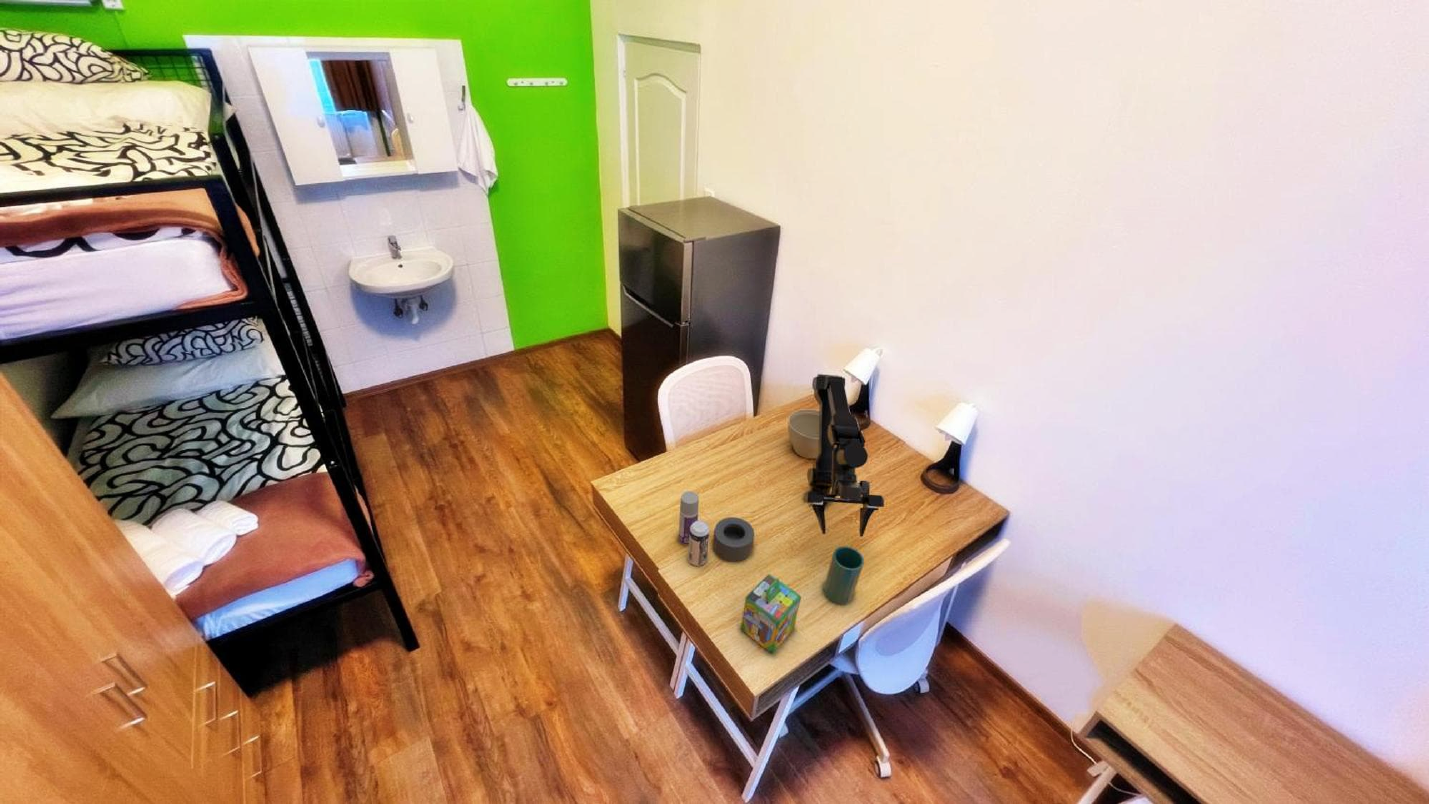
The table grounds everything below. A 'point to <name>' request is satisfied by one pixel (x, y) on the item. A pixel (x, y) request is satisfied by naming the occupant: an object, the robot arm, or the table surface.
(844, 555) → the green cup
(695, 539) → the grey capped bottle
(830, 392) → the robot arm
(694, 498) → the container
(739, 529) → the grey pot
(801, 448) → the planter bowl
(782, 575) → the table surface
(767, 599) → the chalk box
